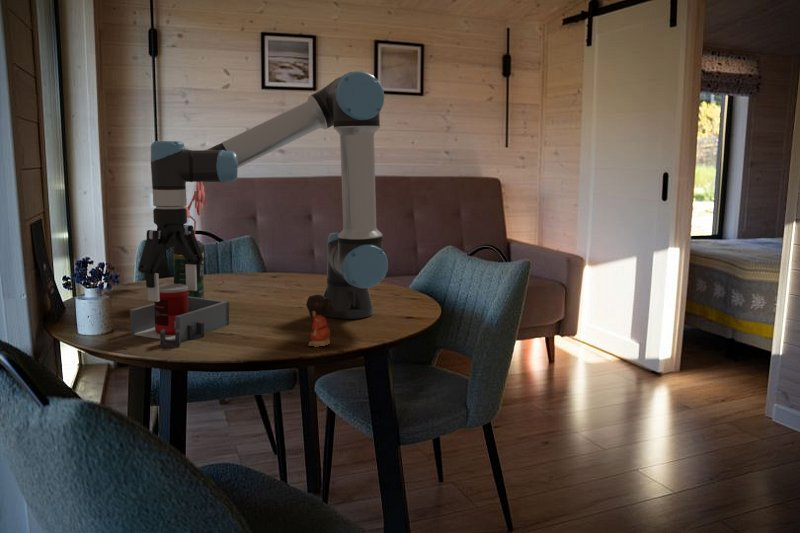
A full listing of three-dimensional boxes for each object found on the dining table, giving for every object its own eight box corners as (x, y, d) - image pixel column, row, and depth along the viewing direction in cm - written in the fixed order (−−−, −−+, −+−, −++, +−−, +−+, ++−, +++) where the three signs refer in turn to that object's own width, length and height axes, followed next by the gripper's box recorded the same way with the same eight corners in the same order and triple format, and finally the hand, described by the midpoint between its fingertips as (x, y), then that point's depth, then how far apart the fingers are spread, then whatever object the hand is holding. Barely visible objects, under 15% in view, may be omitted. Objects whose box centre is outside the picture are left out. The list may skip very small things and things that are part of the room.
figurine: (331, 340, 160) (332, 292, 158) (333, 347, 154) (334, 297, 153) (305, 341, 159) (306, 292, 157) (306, 347, 153) (307, 297, 151)
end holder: (229, 324, 171) (229, 301, 170) (179, 342, 154) (179, 317, 153) (183, 317, 176) (182, 295, 175) (130, 334, 158) (129, 309, 158)
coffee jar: (199, 308, 188) (198, 243, 185) (170, 307, 187) (169, 242, 184) (207, 300, 197) (206, 238, 194) (180, 300, 197) (179, 237, 194)
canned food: (192, 327, 166) (192, 284, 164) (182, 336, 158) (182, 290, 156) (161, 326, 165) (160, 283, 164) (150, 335, 157) (149, 289, 156)
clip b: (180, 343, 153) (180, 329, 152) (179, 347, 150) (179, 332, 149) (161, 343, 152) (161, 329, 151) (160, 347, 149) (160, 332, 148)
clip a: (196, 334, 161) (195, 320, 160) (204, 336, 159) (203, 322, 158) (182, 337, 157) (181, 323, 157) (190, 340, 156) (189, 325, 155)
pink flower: (169, 289, 210) (170, 178, 205) (185, 275, 235) (186, 176, 230) (219, 291, 212) (221, 181, 207) (229, 277, 237) (232, 178, 232)
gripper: (190, 203, 169) (193, 284, 173) (117, 210, 146) (123, 304, 150) (215, 204, 167) (218, 287, 170) (145, 212, 144) (149, 307, 147)
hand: (173, 295), depth 160 cm, fingers open, 13 cm apart
